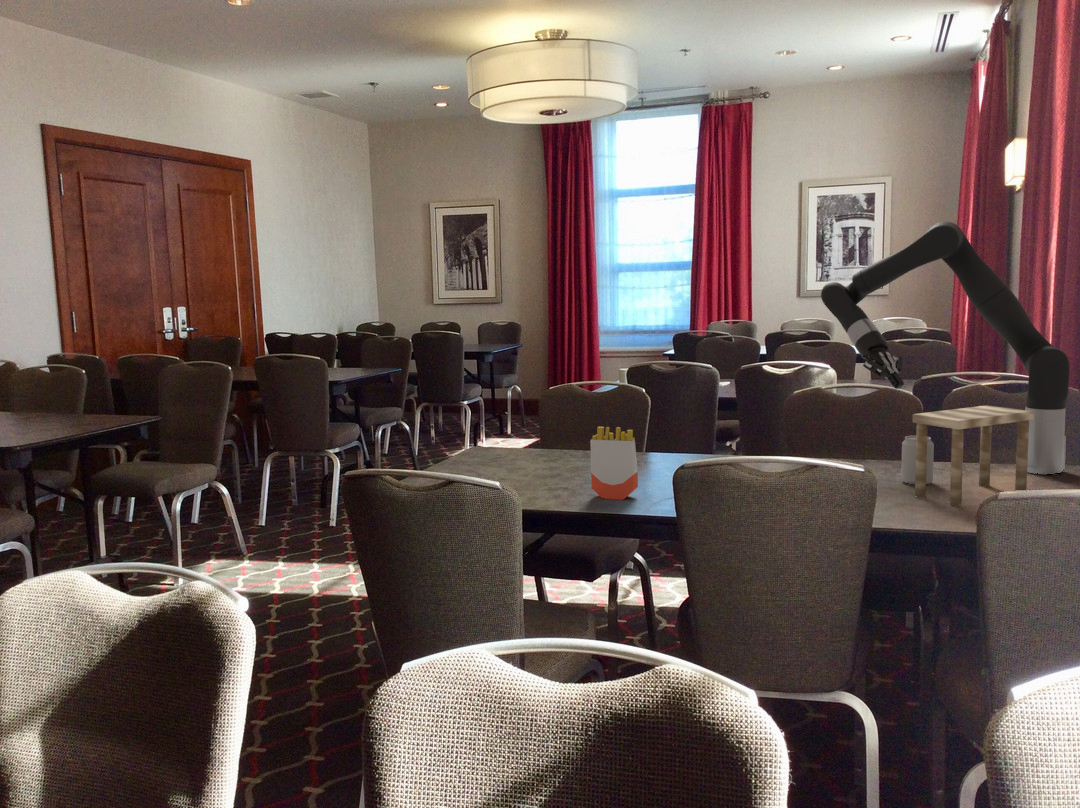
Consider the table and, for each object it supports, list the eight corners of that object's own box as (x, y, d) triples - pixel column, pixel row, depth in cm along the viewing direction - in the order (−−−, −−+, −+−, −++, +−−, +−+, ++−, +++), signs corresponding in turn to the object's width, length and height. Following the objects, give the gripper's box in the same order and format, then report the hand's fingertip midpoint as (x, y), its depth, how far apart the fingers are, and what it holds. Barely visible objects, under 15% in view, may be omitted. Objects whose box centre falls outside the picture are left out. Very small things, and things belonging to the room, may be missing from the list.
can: (936, 486, 222) (937, 439, 220) (904, 486, 223) (905, 439, 221) (928, 479, 229) (929, 434, 227) (898, 479, 230) (899, 434, 229)
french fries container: (597, 493, 225) (595, 424, 223) (638, 496, 221) (637, 425, 219) (591, 497, 221) (589, 427, 219) (633, 500, 217) (632, 428, 214)
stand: (983, 483, 222) (985, 405, 220) (1030, 493, 211) (1034, 411, 208) (910, 496, 212) (912, 414, 210) (956, 507, 200) (959, 420, 198)
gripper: (855, 330, 239) (889, 379, 230) (892, 328, 244) (926, 376, 235) (841, 349, 245) (873, 397, 235) (877, 346, 250) (910, 393, 241)
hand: (900, 386), depth 235 cm, fingers closed
